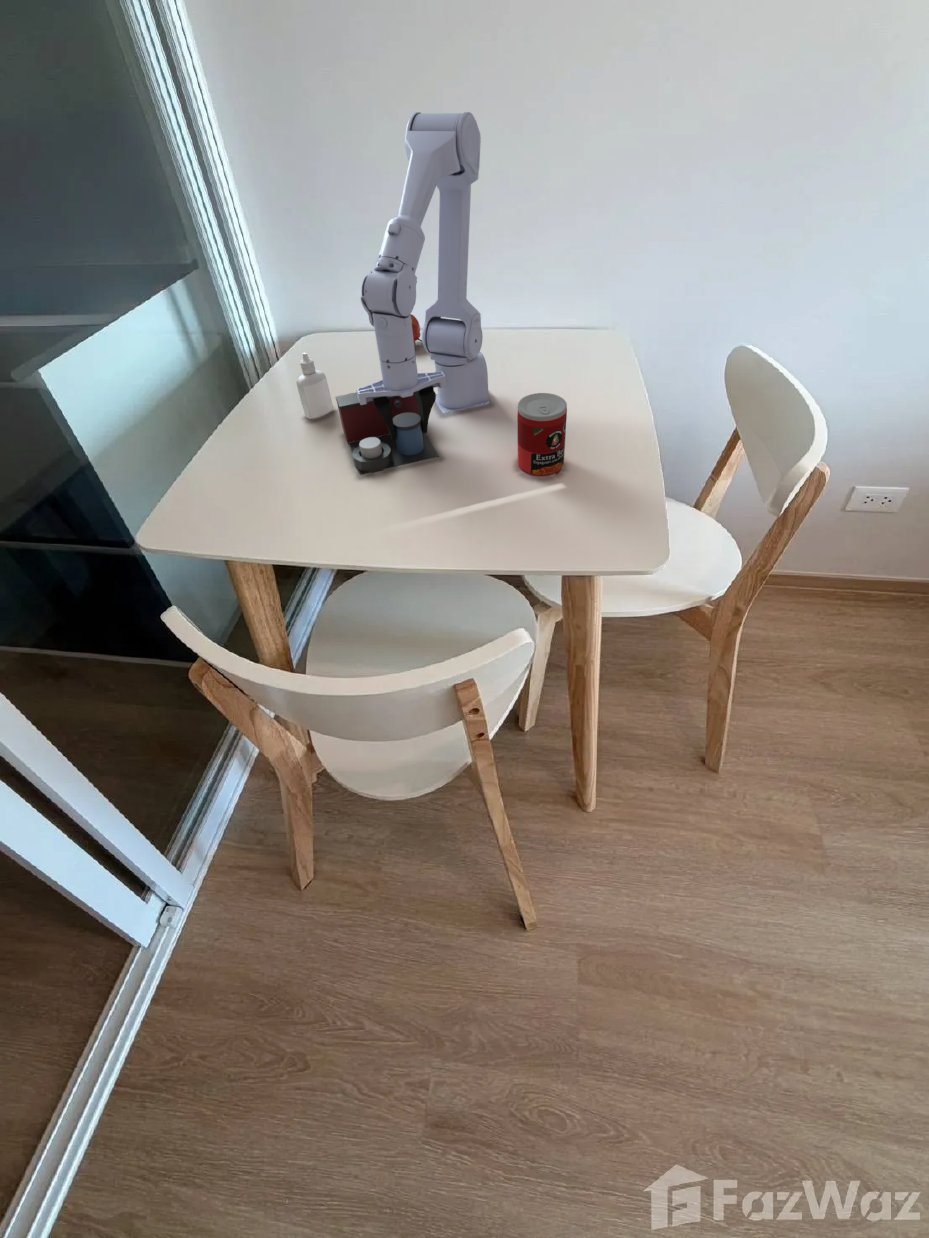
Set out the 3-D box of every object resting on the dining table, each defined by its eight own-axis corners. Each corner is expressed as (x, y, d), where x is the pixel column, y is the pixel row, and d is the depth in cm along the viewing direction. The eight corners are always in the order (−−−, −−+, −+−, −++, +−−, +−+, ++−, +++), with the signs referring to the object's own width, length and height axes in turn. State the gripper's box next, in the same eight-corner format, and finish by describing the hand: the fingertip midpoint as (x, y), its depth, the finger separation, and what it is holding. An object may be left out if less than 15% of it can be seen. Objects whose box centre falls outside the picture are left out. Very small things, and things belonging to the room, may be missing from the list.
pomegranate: (410, 348, 146) (375, 329, 139) (426, 319, 142) (391, 299, 135) (421, 363, 141) (385, 345, 135) (438, 334, 138) (402, 314, 131)
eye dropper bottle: (335, 417, 120) (320, 355, 111) (306, 422, 119) (289, 360, 111) (333, 407, 123) (319, 346, 114) (304, 412, 122) (288, 351, 114)
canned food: (533, 484, 100) (534, 422, 92) (508, 462, 105) (507, 401, 97) (573, 470, 102) (577, 407, 94) (546, 448, 107) (548, 387, 99)
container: (420, 438, 111) (416, 410, 107) (428, 452, 108) (424, 423, 104) (393, 444, 110) (388, 416, 106) (400, 458, 107) (395, 429, 103)
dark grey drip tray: (440, 460, 107) (438, 446, 105) (359, 478, 105) (356, 465, 103) (422, 429, 115) (421, 416, 113) (347, 446, 112) (344, 433, 110)
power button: (384, 456, 105) (382, 445, 103) (363, 461, 104) (361, 450, 103) (379, 446, 107) (377, 435, 106) (359, 450, 107) (357, 439, 105)
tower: (424, 432, 114) (419, 392, 108) (349, 449, 111) (340, 409, 106) (416, 419, 117) (412, 380, 112) (343, 435, 115) (335, 396, 109)
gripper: (357, 374, 93) (372, 454, 103) (448, 356, 96) (455, 435, 106) (348, 356, 98) (363, 434, 108) (435, 339, 101) (443, 416, 110)
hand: (408, 433), depth 107 cm, fingers closed on container, 5 cm apart
